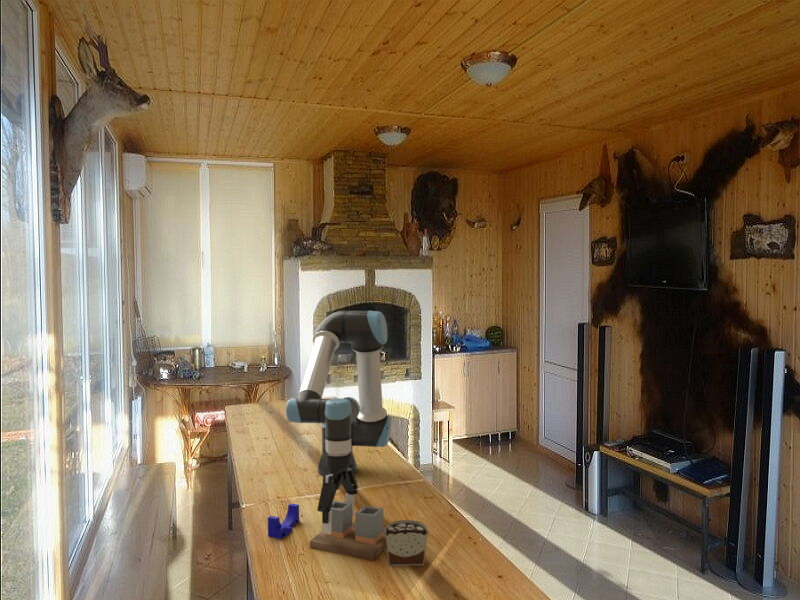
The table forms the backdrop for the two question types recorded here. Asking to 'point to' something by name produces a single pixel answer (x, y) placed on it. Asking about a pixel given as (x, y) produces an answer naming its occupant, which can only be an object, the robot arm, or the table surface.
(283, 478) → the table surface
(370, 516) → the seated sleeve
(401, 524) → the brown grey rounded block
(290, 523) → the cable clip
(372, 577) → the table surface
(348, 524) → the sleeve
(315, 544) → the pin board
